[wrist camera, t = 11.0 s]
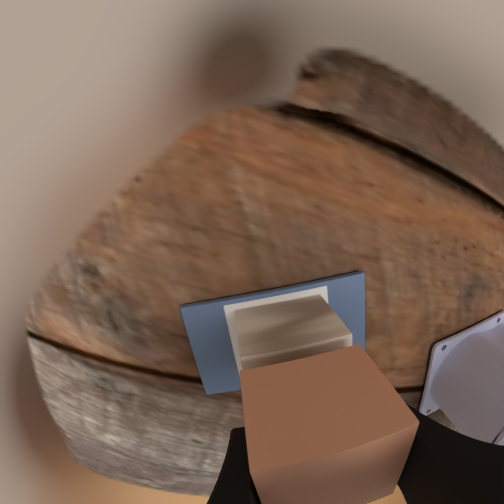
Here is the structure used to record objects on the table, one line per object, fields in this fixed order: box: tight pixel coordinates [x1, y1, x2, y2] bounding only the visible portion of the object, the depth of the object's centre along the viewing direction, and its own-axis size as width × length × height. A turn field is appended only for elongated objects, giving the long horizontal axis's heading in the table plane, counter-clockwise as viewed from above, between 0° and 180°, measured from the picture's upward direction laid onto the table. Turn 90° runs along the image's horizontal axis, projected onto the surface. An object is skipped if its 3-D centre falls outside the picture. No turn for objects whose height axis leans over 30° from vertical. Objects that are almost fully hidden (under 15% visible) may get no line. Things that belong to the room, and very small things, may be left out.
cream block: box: [235, 294, 352, 370], centre depth 14 cm, size 4×4×4 cm
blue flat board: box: [180, 271, 365, 395], centre depth 16 cm, size 10×6×1 cm, turn 100°
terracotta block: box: [239, 344, 419, 504], centre depth 8 cm, size 4×4×4 cm
